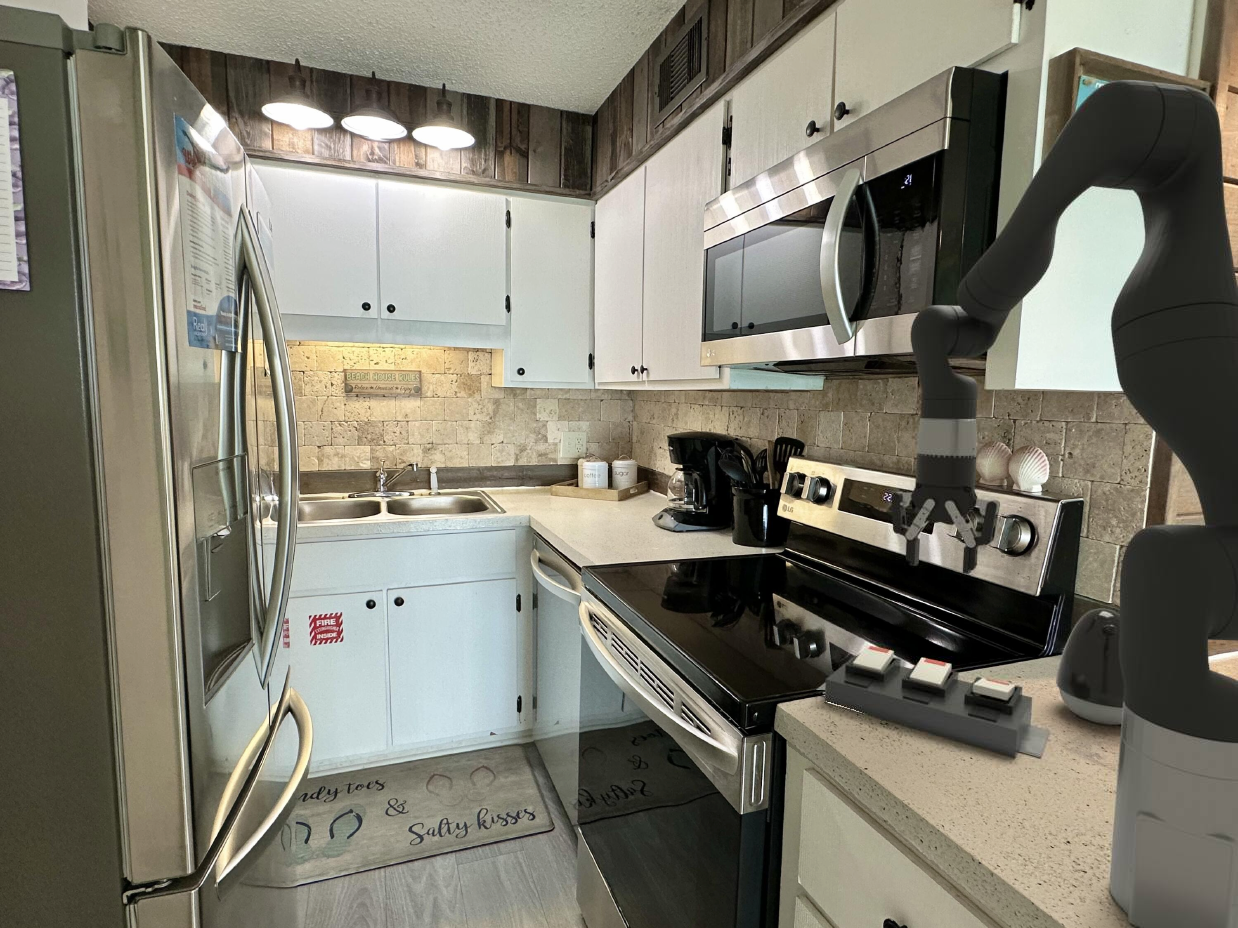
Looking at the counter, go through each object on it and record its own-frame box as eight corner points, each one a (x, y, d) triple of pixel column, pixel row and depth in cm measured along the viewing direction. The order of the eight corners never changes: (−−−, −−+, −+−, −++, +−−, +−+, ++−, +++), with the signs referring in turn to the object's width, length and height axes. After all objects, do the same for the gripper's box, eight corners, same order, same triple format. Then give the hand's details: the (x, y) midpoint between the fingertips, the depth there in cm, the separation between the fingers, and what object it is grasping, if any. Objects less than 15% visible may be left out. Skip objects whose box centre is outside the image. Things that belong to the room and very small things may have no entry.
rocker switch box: (1038, 764, 82) (1040, 727, 81) (808, 698, 100) (809, 667, 99) (1051, 727, 91) (1053, 694, 91) (839, 672, 109) (840, 644, 109)
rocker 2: (1006, 700, 88) (1007, 691, 88) (972, 691, 90) (973, 683, 91) (1014, 692, 93) (1015, 684, 93) (981, 685, 95) (982, 677, 95)
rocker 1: (880, 675, 98) (880, 668, 98) (853, 668, 101) (852, 662, 100) (893, 656, 103) (893, 650, 102) (867, 650, 105) (866, 644, 105)
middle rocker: (940, 690, 93) (940, 683, 93) (909, 683, 96) (909, 675, 95) (951, 670, 98) (951, 663, 97) (921, 663, 100) (921, 656, 100)
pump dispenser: (1058, 723, 92) (1066, 614, 91) (1051, 694, 101) (1058, 594, 100) (1152, 741, 87) (1162, 626, 86) (1136, 709, 97) (1144, 604, 95)
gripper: (884, 450, 97) (879, 565, 98) (999, 455, 88) (991, 582, 89) (901, 447, 103) (896, 556, 104) (1009, 452, 94) (1002, 571, 95)
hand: (940, 568), depth 97 cm, fingers open, 6 cm apart
